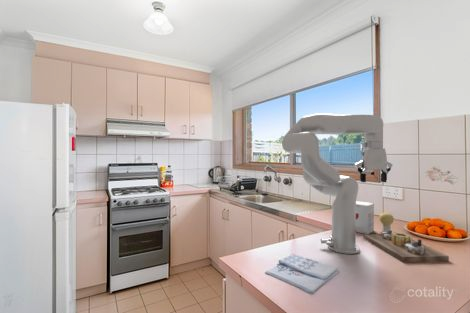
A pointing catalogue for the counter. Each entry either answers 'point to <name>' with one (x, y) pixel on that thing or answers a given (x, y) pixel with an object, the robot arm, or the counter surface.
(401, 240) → the brass gear
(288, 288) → the counter surface
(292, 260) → the folded cloth napkin
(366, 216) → the supplement box
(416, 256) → the gear board
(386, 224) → the light bulb
